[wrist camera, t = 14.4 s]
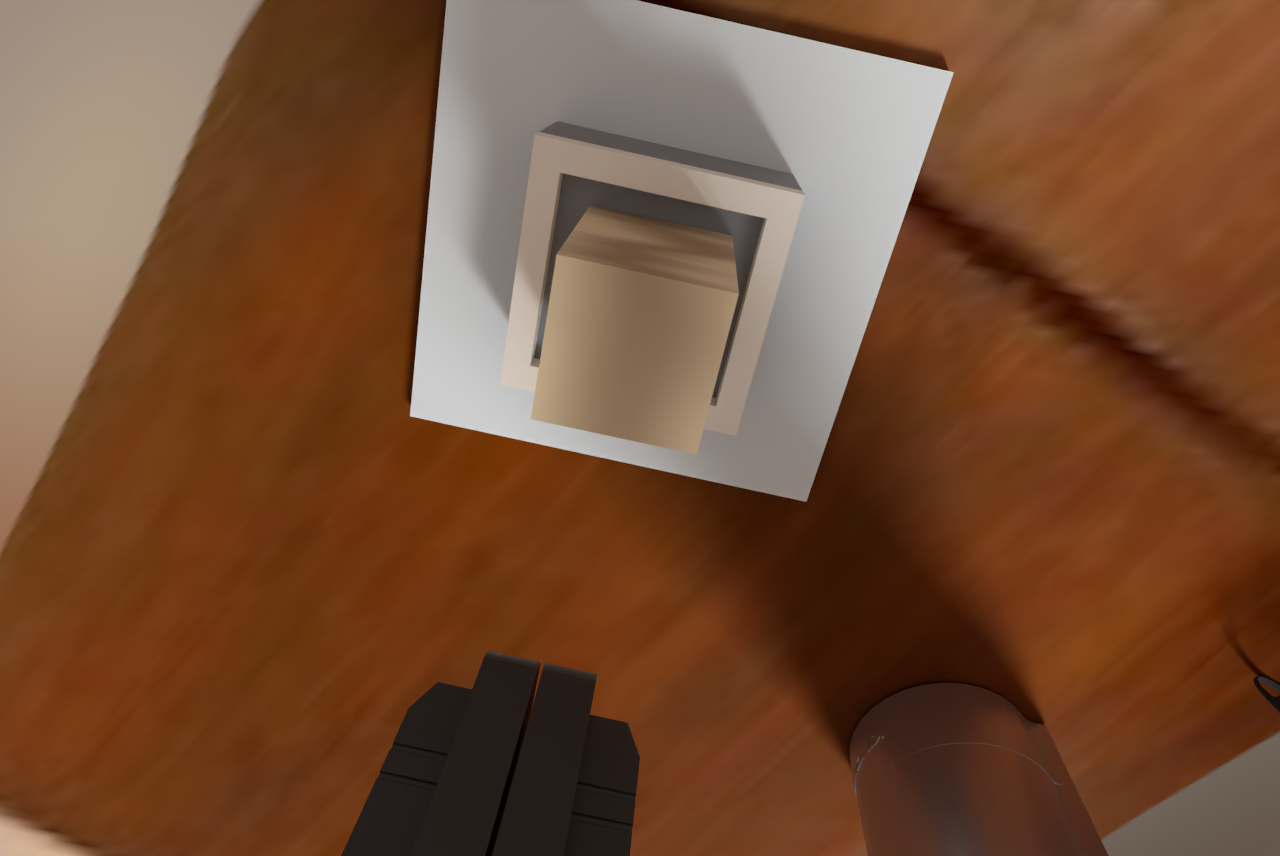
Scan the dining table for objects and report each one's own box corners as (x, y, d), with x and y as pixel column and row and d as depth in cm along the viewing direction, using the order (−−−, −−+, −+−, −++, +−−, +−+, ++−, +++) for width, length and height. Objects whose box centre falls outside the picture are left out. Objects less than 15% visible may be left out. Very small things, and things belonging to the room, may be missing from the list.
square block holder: (949, 71, 30) (991, 78, 25) (804, 494, 38) (817, 558, 33) (455, -41, 29) (408, -54, 25) (414, 410, 37) (373, 462, 33)
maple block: (732, 235, 29) (738, 293, 22) (699, 367, 31) (696, 454, 24) (590, 205, 28) (556, 254, 22) (567, 339, 31) (530, 419, 24)
